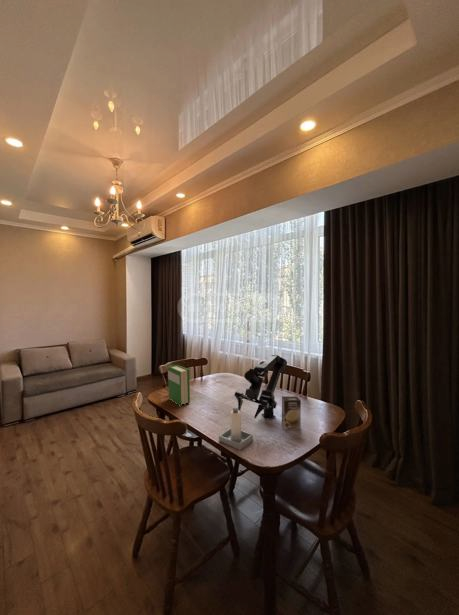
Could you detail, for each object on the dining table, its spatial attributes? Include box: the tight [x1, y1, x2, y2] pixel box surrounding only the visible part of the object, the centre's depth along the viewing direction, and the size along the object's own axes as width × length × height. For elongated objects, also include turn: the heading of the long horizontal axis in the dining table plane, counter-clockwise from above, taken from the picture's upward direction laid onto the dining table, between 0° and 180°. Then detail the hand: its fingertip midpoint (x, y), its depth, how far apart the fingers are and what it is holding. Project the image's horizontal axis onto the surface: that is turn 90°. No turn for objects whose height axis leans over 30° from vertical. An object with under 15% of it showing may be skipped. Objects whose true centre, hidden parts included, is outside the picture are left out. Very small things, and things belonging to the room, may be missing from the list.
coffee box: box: [281, 395, 302, 430], centre depth 138 cm, size 9×6×16 cm
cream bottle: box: [229, 407, 242, 443], centre depth 126 cm, size 5×5×16 cm
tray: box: [218, 427, 254, 452], centre depth 126 cm, size 11×13×3 cm
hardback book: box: [167, 364, 191, 407], centre depth 176 cm, size 18×7×24 cm, turn 39°
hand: (246, 415), depth 132 cm, fingers open, 9 cm apart
